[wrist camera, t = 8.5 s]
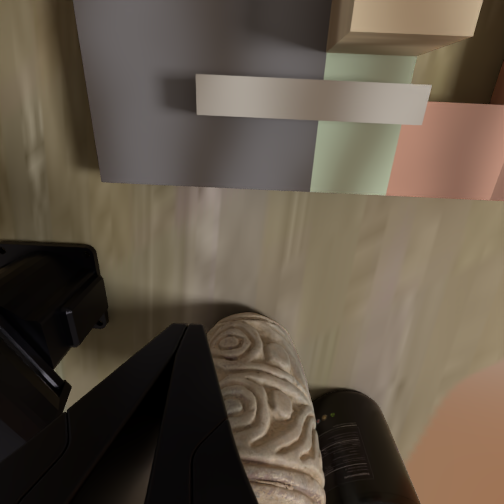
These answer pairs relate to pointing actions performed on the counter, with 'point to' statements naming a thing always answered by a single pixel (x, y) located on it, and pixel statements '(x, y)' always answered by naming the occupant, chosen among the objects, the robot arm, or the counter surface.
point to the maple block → (399, 25)
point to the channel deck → (273, 105)
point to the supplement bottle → (359, 452)
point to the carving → (268, 408)
